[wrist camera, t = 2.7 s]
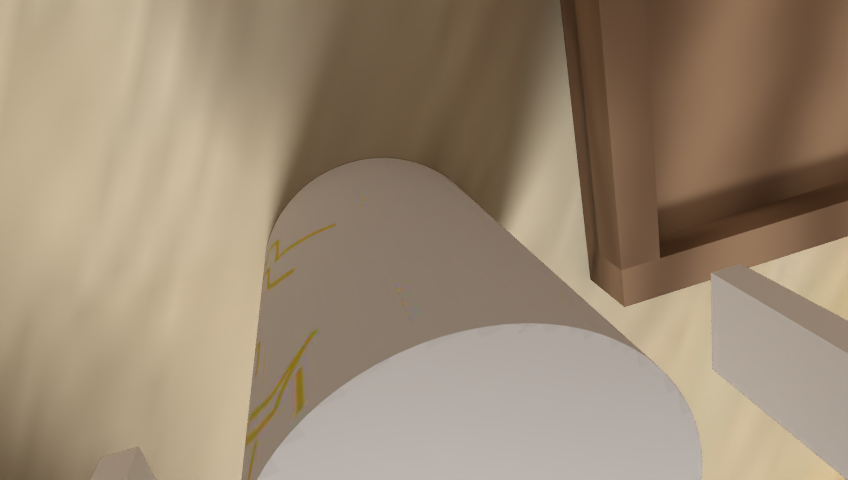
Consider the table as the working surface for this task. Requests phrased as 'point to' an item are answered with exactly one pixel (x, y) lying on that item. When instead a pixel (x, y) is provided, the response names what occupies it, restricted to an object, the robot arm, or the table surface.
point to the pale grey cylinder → (441, 350)
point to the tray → (706, 135)
